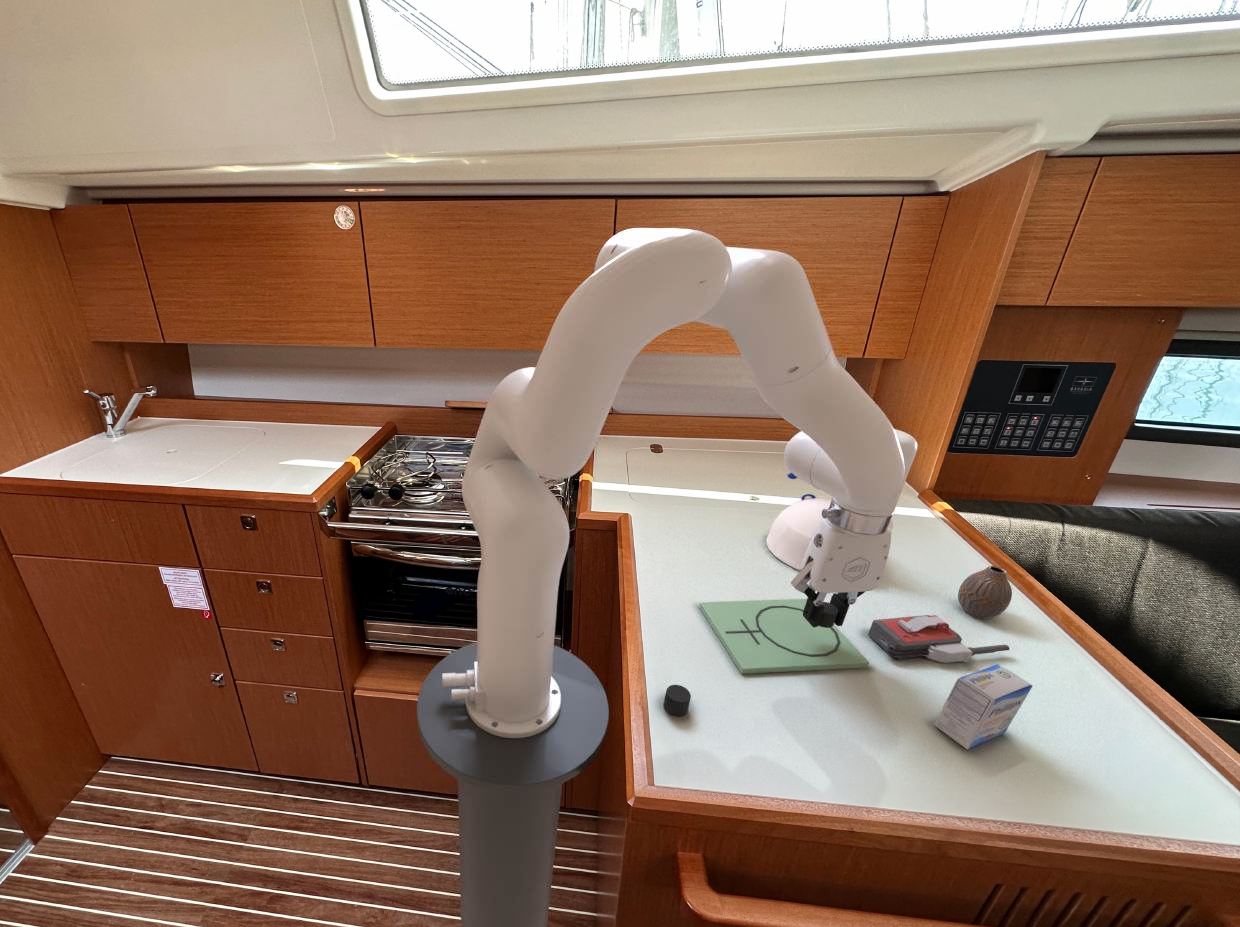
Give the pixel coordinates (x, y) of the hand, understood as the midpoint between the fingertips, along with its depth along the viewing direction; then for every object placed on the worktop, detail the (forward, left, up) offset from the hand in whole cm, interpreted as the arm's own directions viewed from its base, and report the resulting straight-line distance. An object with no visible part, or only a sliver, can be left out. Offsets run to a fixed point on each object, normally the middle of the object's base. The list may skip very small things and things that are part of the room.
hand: (822, 620), depth 86 cm
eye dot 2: (0, 0, 0) cm, 0 cm away
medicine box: (+11, -18, -5) cm, 21 cm away
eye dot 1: (-27, -11, -5) cm, 29 cm away
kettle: (+17, +26, -5) cm, 32 cm away
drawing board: (-5, +2, -5) cm, 7 cm away
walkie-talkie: (+19, -2, -5) cm, 20 cm away
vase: (+34, +6, -5) cm, 35 cm away
